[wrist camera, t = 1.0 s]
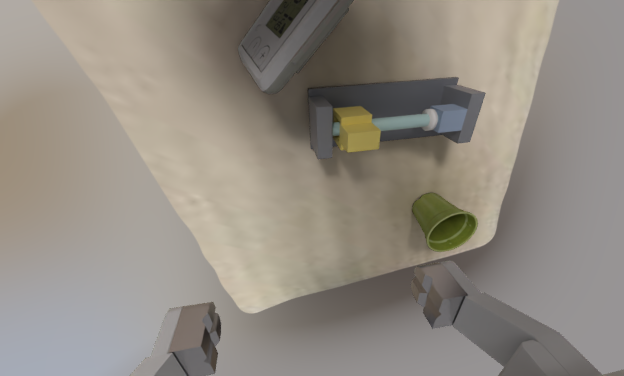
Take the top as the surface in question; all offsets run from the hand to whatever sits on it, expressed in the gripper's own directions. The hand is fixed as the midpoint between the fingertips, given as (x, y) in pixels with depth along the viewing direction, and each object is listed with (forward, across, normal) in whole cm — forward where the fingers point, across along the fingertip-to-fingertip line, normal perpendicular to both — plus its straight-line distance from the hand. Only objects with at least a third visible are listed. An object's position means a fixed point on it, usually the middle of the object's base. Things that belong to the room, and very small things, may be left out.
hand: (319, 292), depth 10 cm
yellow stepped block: (+28, -9, +2) cm, 30 cm away
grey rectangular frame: (+31, -16, +2) cm, 35 cm away
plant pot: (+32, -28, +22) cm, 48 cm away
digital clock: (+31, -3, -11) cm, 33 cm away
